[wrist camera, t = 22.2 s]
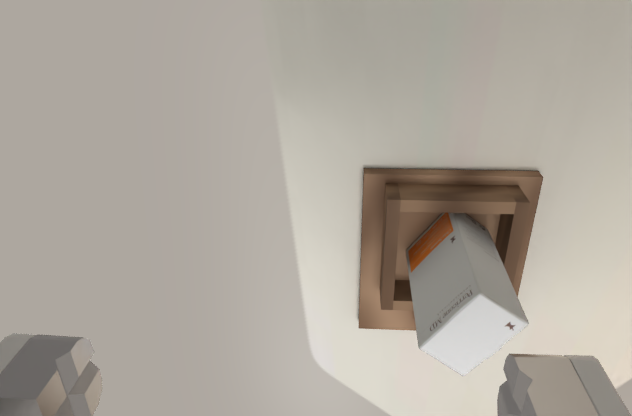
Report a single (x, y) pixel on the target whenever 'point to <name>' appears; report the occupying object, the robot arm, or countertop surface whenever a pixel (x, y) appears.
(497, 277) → the skincare box
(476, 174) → the organiser tray
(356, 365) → the countertop surface
